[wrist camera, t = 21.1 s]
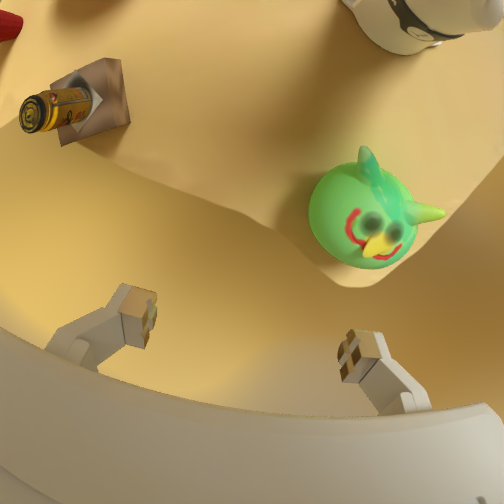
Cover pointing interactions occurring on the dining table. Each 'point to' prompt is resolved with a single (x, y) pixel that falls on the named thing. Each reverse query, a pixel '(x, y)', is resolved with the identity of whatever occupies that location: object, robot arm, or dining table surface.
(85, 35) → the dining table surface
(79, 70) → the walnut block
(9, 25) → the plastic cup
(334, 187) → the toy bird
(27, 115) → the condiment
